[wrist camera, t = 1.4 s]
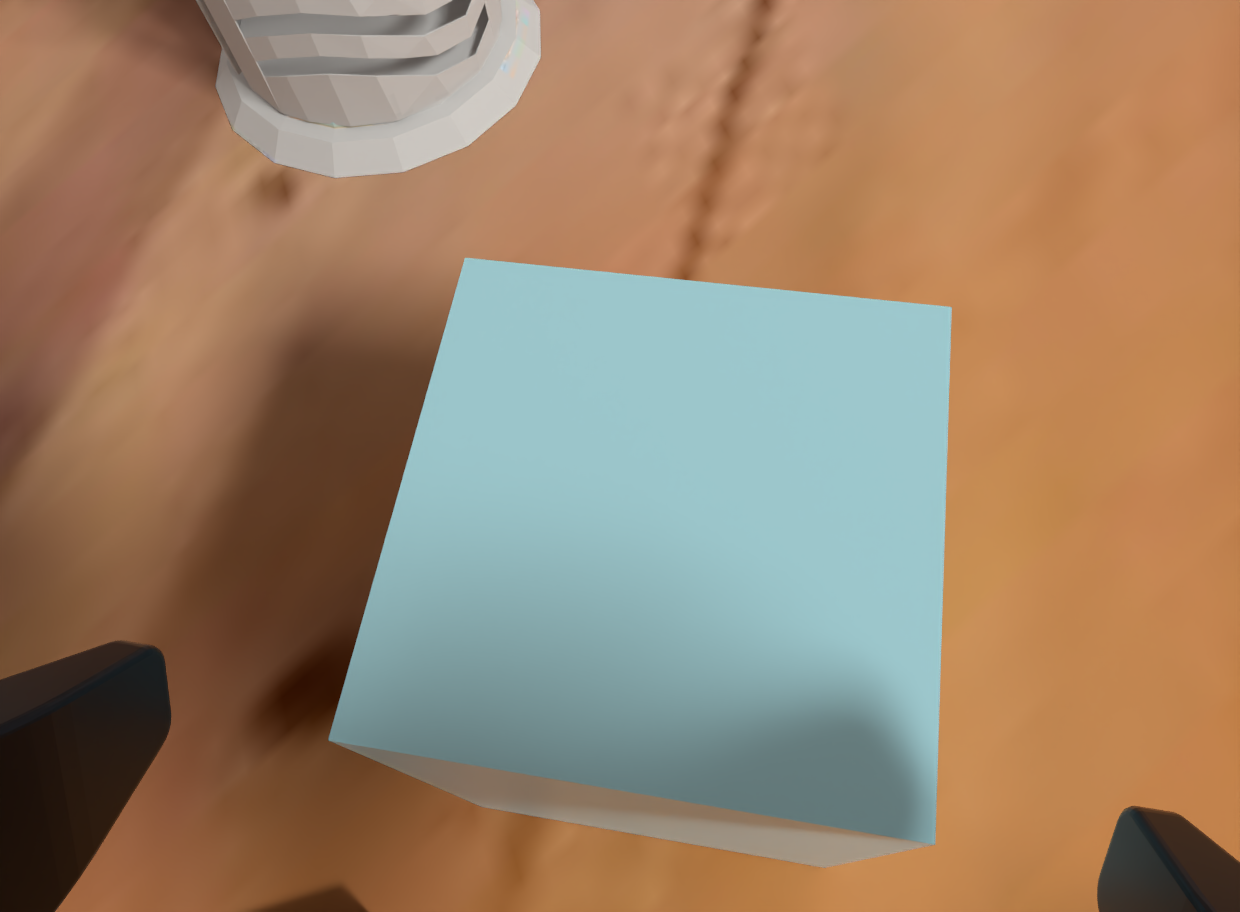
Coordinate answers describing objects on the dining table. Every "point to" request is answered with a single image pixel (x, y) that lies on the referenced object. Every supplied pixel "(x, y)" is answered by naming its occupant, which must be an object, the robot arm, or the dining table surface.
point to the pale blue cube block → (669, 564)
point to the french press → (370, 77)
